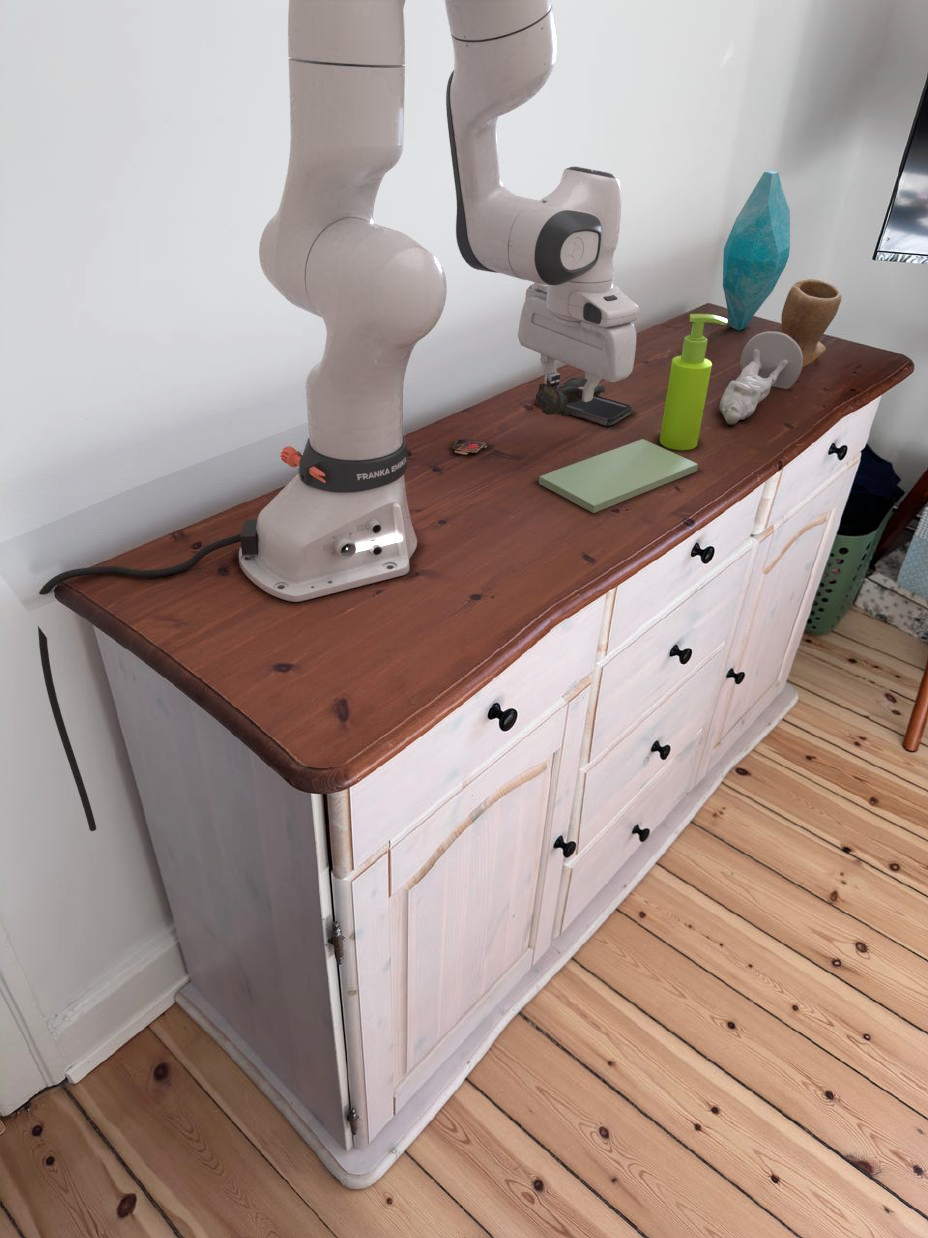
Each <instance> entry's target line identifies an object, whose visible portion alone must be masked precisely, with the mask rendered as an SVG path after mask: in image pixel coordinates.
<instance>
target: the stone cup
mask: <svg viewBox="0 0 928 1238" xmlns="http://www.w3.org/2000/svg"><path fill="white" fill-rule="evenodd" d="M841 303H842V293H841V290H840V289H838V287H836V286H835V285H833V284H831V283H829V282H828V281H825V280H821V279H816V278H804V279H799V280H798V281H796V282H795V283H794V284H793V285H792V286H791V288H790V289H789V290H788V293H787V296H786V298H785V300H784V304H783V307H782V311H781V322H780V323H781V325H780V333H784V334H786V335H788V336H789V337H791V338H792V339H793V340H794V341H795V342H796V343H797V344H798V346H799V347H800V349H801V351H802V354H803V365H802V368H804V367H806V366H808V365H810V364H812V363H813V362H814V361H816V360H817V359H818V358H819V357H820V356H822V354H824V353H825V351H826V350H827V347H825V345H824V344H823V343H821V342H820V340H821V338H822V337H823V335H824V334H825V333H826V331H827V329H828V328H829V326H830V325H831V323H832V322H833V320H834V319H835V317H836V316H837V313H838V311H839V308H840V305H841Z"/></svg>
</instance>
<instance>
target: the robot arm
mask: <svg viewBox="0 0 928 1238" xmlns="http://www.w3.org/2000/svg"><path fill="white" fill-rule="evenodd" d="M405 3H406V0H288V11H287V12H288V13H287V55H288V85H289V121H290V122H289V124H290V140H289V141H290V143H289V158H288V163H287V172H286V177H285V182H284V187H283V192H282V196H281V199H280V203H279V206H278V209H277V211H276V212H275V214H274V215H273V216H272V217H271V218H270V220H269V221H268V222H267V224H266V226H265V227H264V229H263V231H262V234H261V237H260V240H259V247H258V256H259V257H258V258H259V264H260V268H261V271H262V273H263V275H264V276H265V278H266V279H267V281H268V282H269V283H270V285H272V287H274V289H276V291H277V292H278V293H280V295H282V297H284V299H286V300H287V301H288V302H290V303H291V304H292V305H293V306H295V307H297V308H300V309H302V310H304V311H306V312H308V313H310V314H313V315H314V316H317V317H319V318H321V319H322V321H323V322H324V323H323V324H324V327H325V331H326V335H325V336H326V337H325V345H324V350H323V355H322V358H321V360H320V361H319V362H317V363H316V364H315V365H314V366H313V367H312V368H311V369H310V370H309V372H308V374H307V377H306V379H305V386H304V387H305V397H306V411H307V425H308V438H307V440H306V443H305V446H304V449H303V452H302V453H301V452H300V451H298V450H296V449H295V448H294V447H293V446H290V445H288V446H284V447H283V448H282V450H281V451H280V456H279V457H280V460H281V461H282V462H283V463H285V464H287V465H288V466H289V467H290V468H296V467H298V470H297V474H296V475H295V476H294V477H293V478H292V479H291V480H290V481H289V482H288V483H287V484H286V485H285V487H283V488H282V489H281V490H280V491H279V492H278V494H276V496H274V497H273V499H271V500H270V501H269V502H268V503H267V504H266V505H265V506H264V507H263V508H262V509H261V510H260V512H259V513H258V517H257V519H255V518H254V519H253V518H251V519H244V520H243V524H242V527H241V531H240V533H238V534H235V535H232V536H229V537H225V538H222V539H219V540H216V541H214V542H212V543H210V544H208V545H205V546H204V547H202V548H201V549H200V550H198V551H197V552H196V553H195V554H194V555H192V557H191V558H190V559H188V560H186V561H184V562H182V563H179V564H177V565H173V566H169V567H165V568H164V567H163V568H157V569H156V568H155V569H134V568H128V567H124V566H117V565H106V566H105V565H104V566H92V567H82V568H75V569H70V570H66V571H63V572H61V573H59V574H57V575H55V576H53V577H52V578H51V579H49V580H48V581H47V582H46V583H45V584H44V585H43V586H42V588H41V589H40V590H39V593H38V594H39V595H47V594H49V593H50V592H51V591H52V590H53V589H54V588H56V586H58V585H59V584H60V583H62V582H64V581H67V580H69V579H73V578H77V577H84V576H94V575H95V576H96V575H105V574H108V575H109V574H115V575H116V574H117V575H121V576H126V577H131V578H133V577H134V578H139V579H140V578H141V579H143V578H158V577H159V578H160V577H166V576H172V575H176V574H179V573H182V572H184V571H187V570H189V569H191V568H193V567H194V566H195V565H197V564H198V563H199V562H200V561H202V559H203V558H205V556H207V555H208V554H210V553H212V552H214V551H216V550H219V549H221V548H224V547H227V546H230V545H234V544H237V543H239V542H240V548H239V551H238V565H239V567H240V569H241V571H242V572H243V573H244V575H245V576H246V577H247V578H248V579H249V580H250V581H251V582H252V583H253V584H254V585H255V586H257V587H258V588H260V589H261V590H262V591H263V592H266V593H267V594H269V595H271V596H273V597H275V598H278V599H281V600H284V601H288V602H293V603H298V602H304V601H308V600H312V599H316V598H321V597H323V596H327V595H330V594H335V593H339V592H343V591H347V590H352V589H354V588H359V587H364V586H367V585H370V584H375V583H379V582H383V581H387V580H391V579H394V578H398V577H402V576H405V575H407V574H408V573H409V572H410V569H411V567H410V559H411V557H412V556H413V554H414V553H415V551H416V550H417V546H418V538H417V535H416V533H415V529H414V527H413V523H412V519H411V515H410V510H409V504H408V503H409V502H408V497H407V491H406V479H405V478H406V477H405V475H406V471H408V470H407V469H408V449H407V439H406V437H405V436H404V384H405V377H406V372H407V371H406V370H407V367H408V363H409V361H410V358H411V355H412V352H413V350H414V348H415V346H416V345H417V343H419V341H420V340H423V338H425V337H426V336H428V335H429V334H430V332H431V331H432V330H433V329H434V328H435V327H436V325H437V324H438V322H439V321H440V318H441V317H442V315H443V314H442V313H443V311H444V309H445V305H446V301H447V293H448V286H447V285H448V284H447V277H446V274H445V271H444V268H443V266H442V263H441V262H440V261H439V259H438V258H437V256H435V255H434V254H433V253H432V252H431V251H429V249H427V248H425V247H424V246H423V245H422V244H421V243H419V242H417V241H416V240H414V238H412V237H410V236H409V235H407V234H406V233H404V232H402V231H399V230H396V229H393V228H390V227H386V226H383V225H380V224H377V223H375V221H374V212H375V211H374V210H375V204H376V199H377V195H378V191H379V188H380V186H381V183H382V181H383V178H384V177H385V175H386V174H387V173H388V172H389V171H391V170H393V168H394V167H395V166H396V165H397V164H398V162H399V161H400V159H401V157H402V154H403V150H404V136H405V135H404V134H405V83H406V81H405V80H406V65H405V64H406V39H405V38H406V34H405V33H406V32H405V15H404V14H405V13H404V8H405ZM444 5H445V11H446V12H445V13H446V16H447V21H448V27H449V32H450V36H451V41H452V42H451V43H452V49H453V58H454V64H453V65H454V66H453V70H452V71H451V73H450V75H449V77H448V80H447V85H446V93H445V107H446V108H445V109H446V121H447V122H446V123H447V131H448V132H447V133H448V138H449V148H450V156H451V163H452V173H453V180H454V189H455V198H456V199H455V200H456V217H455V218H456V219H455V239H456V244H457V248H458V250H459V253H460V255H461V257H462V259H463V261H465V263H466V264H467V265H468V266H469V267H471V268H473V269H474V270H477V271H482V272H483V271H484V272H489V273H497V274H502V275H506V276H509V277H512V278H515V279H516V278H517V279H519V280H523V281H528V282H532V284H530V285H529V286H528V288H527V289H526V290H525V297H524V302H523V305H522V308H521V312H520V318H519V324H518V330H517V339H518V341H519V344H520V346H521V347H524V348H526V349H528V350H531V351H534V352H536V353H538V354H540V358H539V359H540V364H541V366H542V369H543V372H544V382H543V384H546V385H549V386H551V387H555V386H560V383H561V382H560V379H561V373H559V372H558V371H557V367H556V362H555V361H558V362H560V363H562V364H566V365H568V366H570V367H573V368H575V369H577V370H580V371H582V372H584V378H585V379H587V382H586V384H585V385H584V387H579V388H578V395H577V397H578V399H580V400H582V401H584V402H588V401H591V400H592V399H593V393H594V389H595V388H596V387H597V386H599V384H600V382H601V381H602V380H604V381H607V382H609V383H616V382H620V381H624V380H626V379H627V378H629V377H630V376H631V374H632V372H633V370H634V365H635V359H636V352H637V351H636V349H637V331H636V327H635V325H634V324H633V323H632V322H635V321H636V320H638V317H639V314H640V308H639V306H638V305H637V303H635V301H633V300H632V299H631V298H629V297H628V295H626V294H625V293H623V291H622V290H621V289H619V287H618V286H617V285H615V284H614V277H615V276H614V275H615V272H614V263H613V261H614V254H615V251H616V250H617V248H618V244H619V238H620V229H621V218H622V189H621V182H620V180H619V179H618V177H616V176H615V175H614V174H613V173H610V172H607V171H601V170H596V169H590V168H586V167H580V166H570V167H566V168H565V169H564V170H563V172H562V174H561V178H560V181H559V183H558V186H556V188H555V189H554V190H553V191H552V192H550V193H549V194H548V195H545V196H544V197H543V198H541V200H538V199H534V198H529V197H525V196H520V195H516V194H514V193H512V192H511V190H508V188H507V187H506V185H504V183H503V182H502V180H501V173H500V172H501V171H500V158H499V148H498V147H499V146H498V134H497V122H498V118H499V117H501V116H503V115H506V114H508V113H510V112H512V111H514V110H516V109H518V108H519V107H522V105H524V104H525V103H527V102H528V101H530V100H531V99H533V97H535V96H536V95H537V94H538V93H539V92H540V91H541V90H542V88H543V87H544V86H545V84H547V81H548V80H549V78H550V76H551V74H552V72H553V69H554V66H555V64H556V59H557V47H558V46H557V45H558V44H557V41H558V40H557V29H556V22H555V16H554V10H553V3H552V0H444ZM37 634H38V635H37V636H38V647H39V655H40V662H41V668H42V673H43V674H42V675H43V678H44V679H43V680H44V684H45V688H46V693H47V696H48V701H49V704H50V708H51V711H52V715H53V718H54V721H55V724H56V728H57V732H58V734H59V738H60V740H61V743H62V746H63V749H64V752H65V756H66V758H67V761H68V764H69V767H70V770H71V773H72V776H73V779H74V782H75V786H76V788H77V792H78V795H79V798H80V801H81V804H82V808H83V810H84V815H85V819H86V822H87V825H88V829H89V831H90V832H95V831H96V830H97V825H96V821H95V817H94V814H93V810H92V807H91V803H90V800H89V796H88V793H87V789H86V786H85V783H84V781H83V777H82V774H81V770H80V768H79V765H78V762H77V759H76V756H75V753H74V750H73V747H72V744H71V741H70V738H69V735H68V732H67V728H66V724H65V721H64V718H63V714H62V712H61V707H60V704H59V702H58V697H57V693H56V688H55V684H54V679H53V673H52V668H51V663H50V661H51V660H50V654H49V647H48V637H47V636H46V635H45V633H44V632H43V630H42V629H41V627H39V625H37Z"/></svg>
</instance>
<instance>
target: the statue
mask: <svg viewBox="0 0 928 1238" xmlns="http://www.w3.org/2000/svg"><path fill="white" fill-rule="evenodd" d="M587 380H588V379H585V376H584V377H583V376H582V377H581V376H578V377H571V378H569V379H568V380H567V381H565V382H564V383H563V385H562V386H563V387H562V388H560V389H555V388H553V387H551V386H549V385H546V384H545V383H540V384H539V386H538V391H537V393H536V394H535V405H536V406H537V407H539V408H540V410H541V412H542V413H543V414H545V415H546V416H551V415H552V416H553V415H558V416H561V417H567V416H569V415H570V414H569V413H570V411H569V409H568V407H567V406H566V404H568V403H572V402H577V401H580V399H578V397H577V395H578V388H579V387H584V385H585V384H586V382H587ZM602 393H603V394H605V393H606V387H605V386H604V384H601V385H597V386H596V388H595V389H594V393H593V396H600V395H601V394H602ZM536 399H537V400H536Z"/></svg>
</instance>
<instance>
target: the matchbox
mask: <svg viewBox="0 0 928 1238" xmlns="http://www.w3.org/2000/svg"><path fill="white" fill-rule="evenodd" d="M482 448H484V449H486V448H488V444H486V442H481V441H476V440H471V439H457V440H456V441H455V442H454V443H453V444H452V449H453V450H454V453H455V454H459V455H469V453H475V454H476V453H478V451H480V450H481V449H482Z"/></svg>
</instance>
